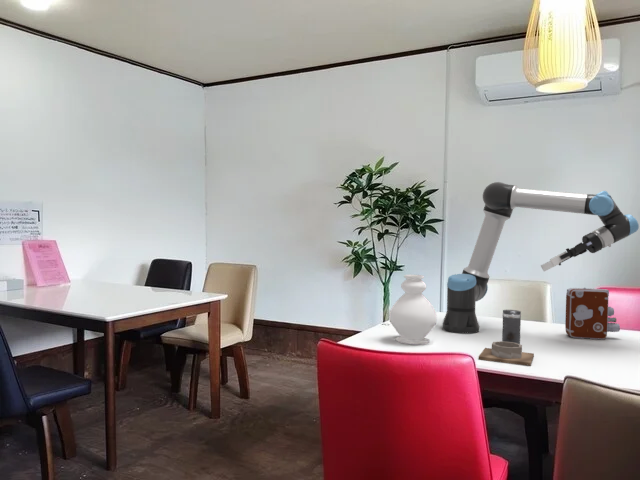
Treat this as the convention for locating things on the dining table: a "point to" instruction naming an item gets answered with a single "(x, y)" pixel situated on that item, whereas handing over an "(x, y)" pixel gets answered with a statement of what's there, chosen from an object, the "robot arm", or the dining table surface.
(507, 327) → the tube
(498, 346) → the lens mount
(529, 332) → the dining table surface
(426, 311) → the decorative vase
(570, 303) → the cine camera
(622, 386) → the dining table surface
